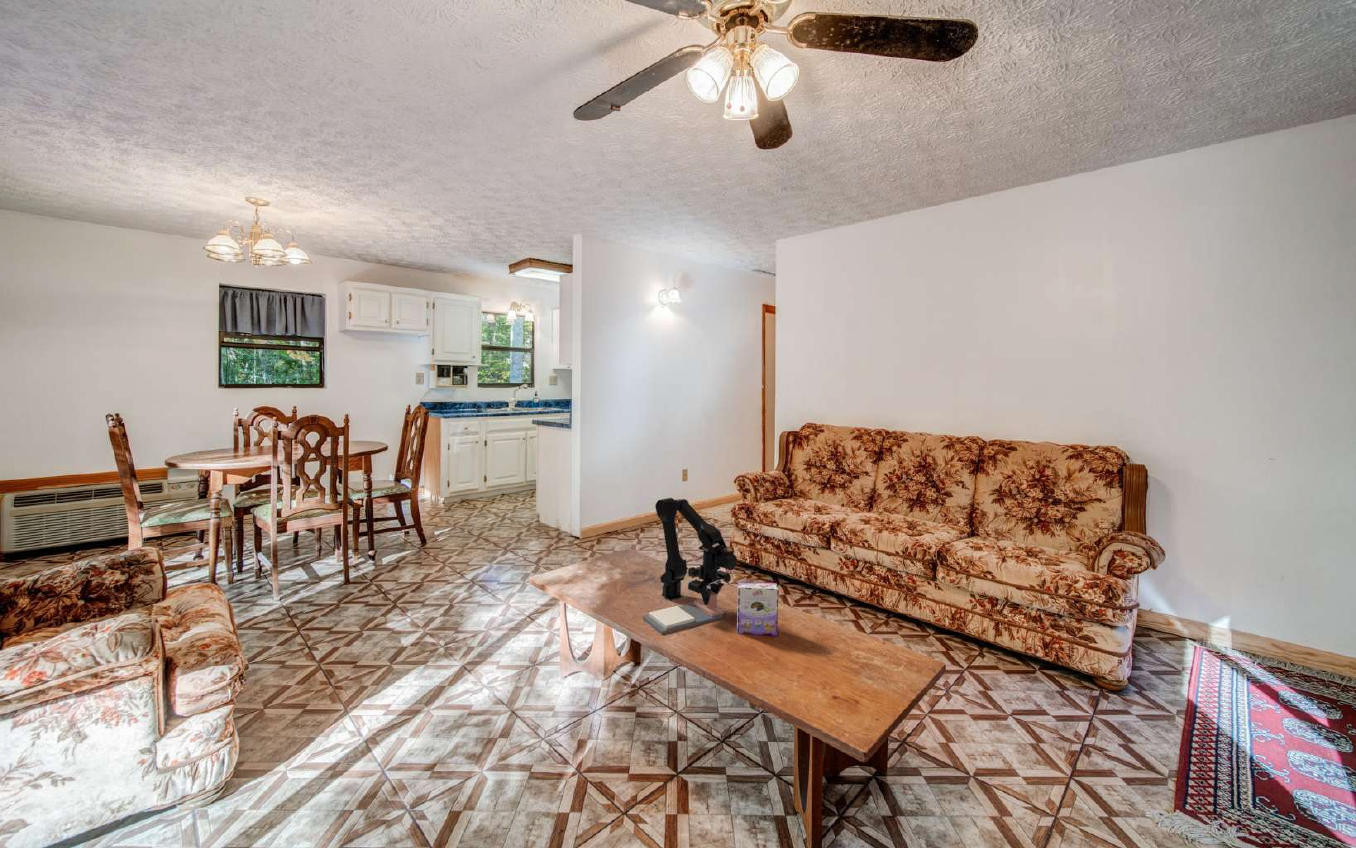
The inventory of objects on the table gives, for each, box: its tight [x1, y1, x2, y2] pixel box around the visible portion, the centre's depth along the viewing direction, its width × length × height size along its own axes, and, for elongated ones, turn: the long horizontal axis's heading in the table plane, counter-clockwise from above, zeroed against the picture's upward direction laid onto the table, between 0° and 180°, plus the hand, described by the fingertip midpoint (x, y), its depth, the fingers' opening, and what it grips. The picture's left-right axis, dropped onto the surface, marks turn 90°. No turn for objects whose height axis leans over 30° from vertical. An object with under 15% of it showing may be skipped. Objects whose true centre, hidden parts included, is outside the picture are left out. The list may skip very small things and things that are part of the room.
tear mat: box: [641, 603, 724, 635], centre depth 190 cm, size 26×14×1 cm, turn 122°
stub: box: [692, 591, 725, 616], centre depth 196 cm, size 6×12×6 cm, turn 32°
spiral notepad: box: [648, 605, 695, 629], centre depth 188 cm, size 13×12×1 cm
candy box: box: [736, 581, 779, 636], centre depth 181 cm, size 14×6×16 cm, turn 84°
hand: (709, 603), depth 197 cm, fingers closed on stub, 3 cm apart
